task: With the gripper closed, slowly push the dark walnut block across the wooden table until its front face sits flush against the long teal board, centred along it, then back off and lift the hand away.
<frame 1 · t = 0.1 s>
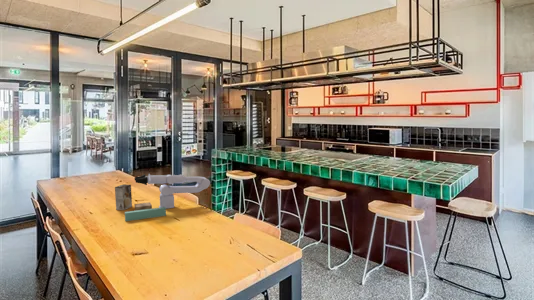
hand: (135, 179, 208), 22 cm above the table, tool horizontal, fingers open, 7 cm apart
coffee box: (124, 208, 216), on the table
teal board: (145, 217, 196), on the table
walnut block: (143, 211, 209), on the table
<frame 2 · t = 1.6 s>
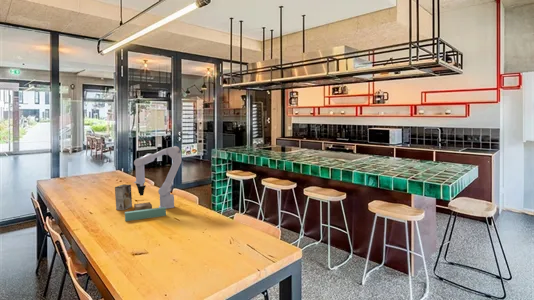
hand: (141, 194, 218), 9 cm above the table, tool pointing down, fingers open, 7 cm apart
nothing on the table moved.
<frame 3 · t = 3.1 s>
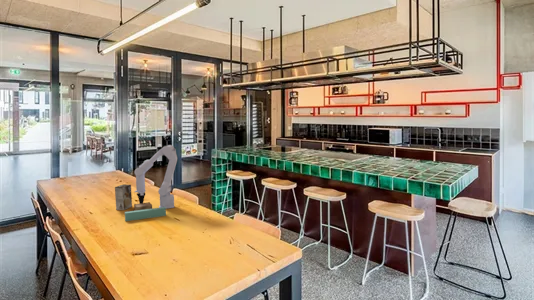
hand: (141, 203, 218), 3 cm above the table, tool pointing down, fingers closed
nothing on the table moved.
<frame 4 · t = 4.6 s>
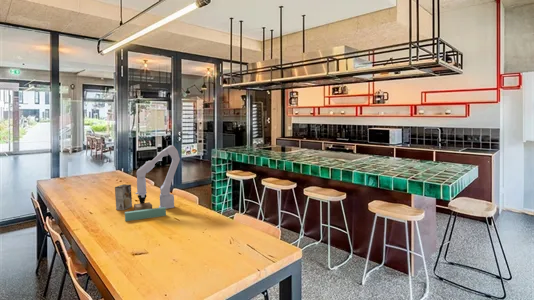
hand: (142, 205, 213), 3 cm above the table, tool pointing down, fingers closed
walnut block: (143, 211, 209), on the table, touching gripper
everything else where it was.
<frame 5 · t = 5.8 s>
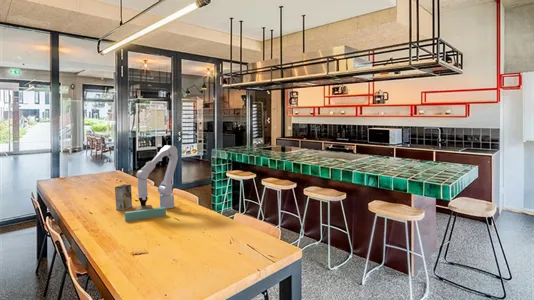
hand: (143, 208, 207), 3 cm above the table, tool pointing down, fingers closed
walnut block: (144, 214, 203), on the table, touching gripper
everything else where it was.
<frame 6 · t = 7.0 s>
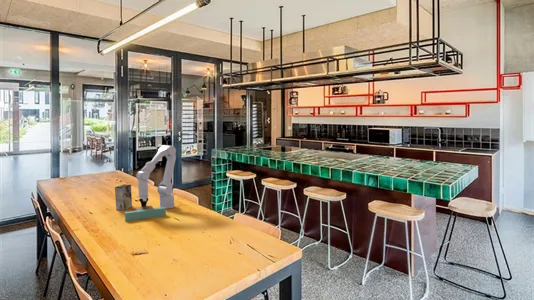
hand: (143, 209, 205), 3 cm above the table, tool pointing down, fingers closed, pressing on walnut block
walnut block: (144, 215, 201), on the table, touching gripper, teal board
everything else where it was.
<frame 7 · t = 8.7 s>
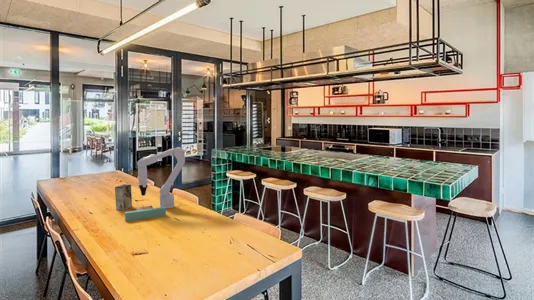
hand: (143, 195, 215), 9 cm above the table, tool pointing down, fingers closed
walnut block: (144, 215, 201), on the table
everything else where it was.
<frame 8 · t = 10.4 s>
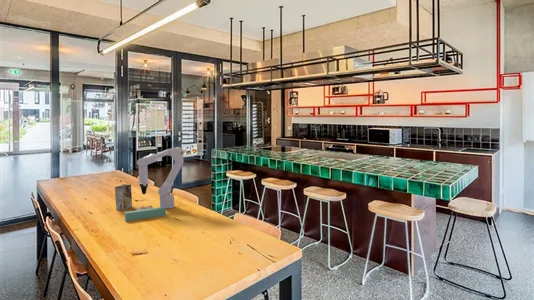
hand: (144, 193, 219), 9 cm above the table, tool pointing down, fingers closed
nothing on the table moved.
at the end: walnut block 0.2 cm from the target spot on the table beside the teal board, on the table; walnut block tilted 0° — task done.
